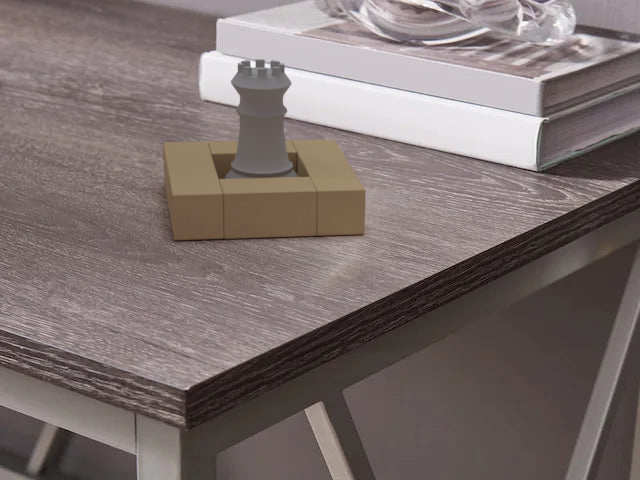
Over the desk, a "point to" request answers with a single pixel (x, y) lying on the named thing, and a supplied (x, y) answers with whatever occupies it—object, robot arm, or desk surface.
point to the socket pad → (261, 193)
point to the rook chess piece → (261, 122)
